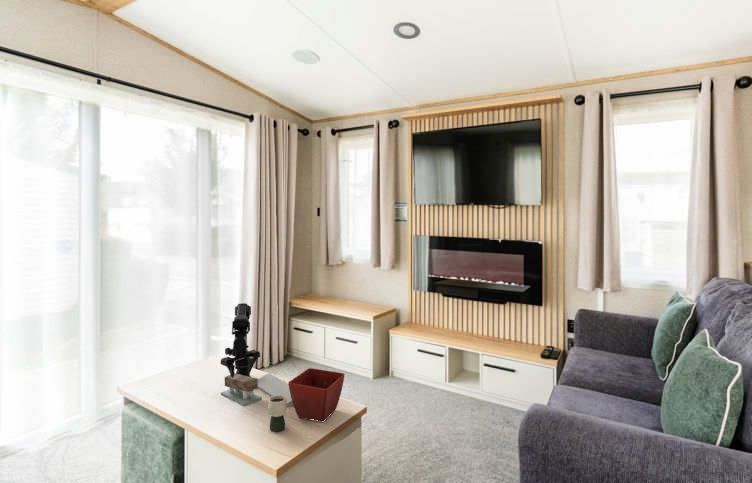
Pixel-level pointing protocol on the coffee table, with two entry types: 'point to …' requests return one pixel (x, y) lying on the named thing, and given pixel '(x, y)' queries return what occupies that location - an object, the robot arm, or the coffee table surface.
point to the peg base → (241, 396)
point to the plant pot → (316, 393)
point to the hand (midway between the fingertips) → (241, 374)
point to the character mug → (277, 412)
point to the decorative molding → (275, 387)
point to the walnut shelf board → (241, 382)
